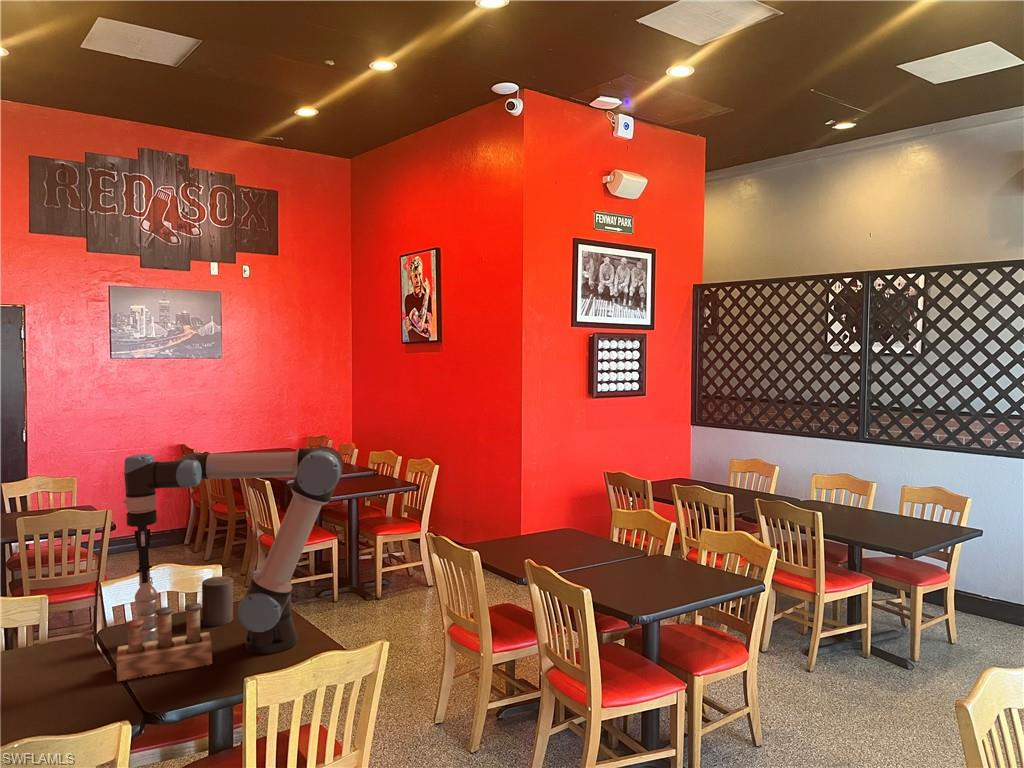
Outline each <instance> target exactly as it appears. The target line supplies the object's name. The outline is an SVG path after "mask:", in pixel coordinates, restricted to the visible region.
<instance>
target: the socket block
mask: <svg viewBox="0 0 1024 768" xmlns="http://www.w3.org/2000/svg"><path fill="white" fill-rule="evenodd" d="M212 649H213V644H212V639H211V634H210V632H209V631H208V632H207V631H205V632H200V642H199V643H193V644H187V635H180V636H176V637H172V647H169V648H163V649H158V639H157V640H156V641H149V642H143V652H139V653H133V654H128V644H125V645H119V646H117V650H116V651H117V652H116V681H117V682H122V681H128V680H132V679H133V678H134V679H138V678H137V677H139V678H143V677H142V676H145V677H148V676H147V675H150V676H153V675H152V674H156V675H161V673H162V674H167V673H172V672H179V671H183V670H188V669H189V670H190V669H195V668H199V667H200V666H201V667H204V665H206V666H211V665H210V664H212V665H213V650H212ZM166 672H167V673H166ZM127 679H128V680H127ZM134 679H133V680H134Z"/></svg>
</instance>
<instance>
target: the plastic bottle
mask: <svg viewBox="0 0 1024 768" xmlns="http://www.w3.org/2000/svg"><path fill="white" fill-rule="evenodd" d="M153 583H154V582H153V577H152V576H150V586H151V593H149V594H142V595H140V583H139V582H138V586H139V587H138V589H137V590H136V592H135V595H134V602H135V607H136V619H142V620H144V624H143V625H142V642H149V641H156V640H158V621H157V615H156V610H157V603H158V591H157V590H156V588H155V587H154V586H153Z"/></svg>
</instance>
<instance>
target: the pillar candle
mask: <svg viewBox="0 0 1024 768" xmlns="http://www.w3.org/2000/svg"><path fill="white" fill-rule="evenodd" d="M201 609H202V610H201V611H202V612H201V616H202V621H201V624H202V625H203V626H205V625H206V627H219V626H223V625H224V624H225V625H227V623H228V624H230V623H231V622H232V621H234V578H232V577H229V576H224V575H223V576H213V577H212V576H211V577H209V578H208V577H207V578H205V579H204V580H203V581H202V583H201ZM225 625H224V626H225Z"/></svg>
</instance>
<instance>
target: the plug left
mask: <svg viewBox="0 0 1024 768" xmlns="http://www.w3.org/2000/svg"><path fill="white" fill-rule="evenodd" d="M201 609H202V603H200V602H191V603H188V604H186V605H184V611H185V613H186V614H185V615H186V617H185V618H186V622H185V623H186V636H187V644H193V643H199V642H200V633H201Z"/></svg>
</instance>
